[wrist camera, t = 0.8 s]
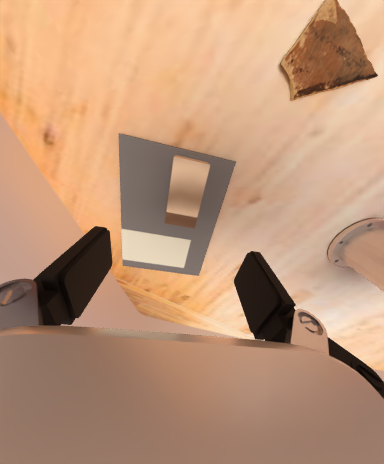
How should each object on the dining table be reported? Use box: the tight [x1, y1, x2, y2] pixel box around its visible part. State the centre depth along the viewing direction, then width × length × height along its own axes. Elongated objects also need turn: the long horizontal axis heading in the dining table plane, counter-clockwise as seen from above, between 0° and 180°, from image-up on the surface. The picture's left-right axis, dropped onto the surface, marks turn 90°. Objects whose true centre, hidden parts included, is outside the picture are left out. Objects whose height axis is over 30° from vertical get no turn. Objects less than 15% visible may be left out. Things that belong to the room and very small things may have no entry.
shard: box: [281, 0, 378, 100], centre depth 19 cm, size 11×8×2 cm
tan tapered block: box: [165, 155, 210, 229], centre depth 24 cm, size 10×5×4 cm, turn 168°
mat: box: [119, 134, 236, 276], centre depth 29 cm, size 18×26×1 cm
